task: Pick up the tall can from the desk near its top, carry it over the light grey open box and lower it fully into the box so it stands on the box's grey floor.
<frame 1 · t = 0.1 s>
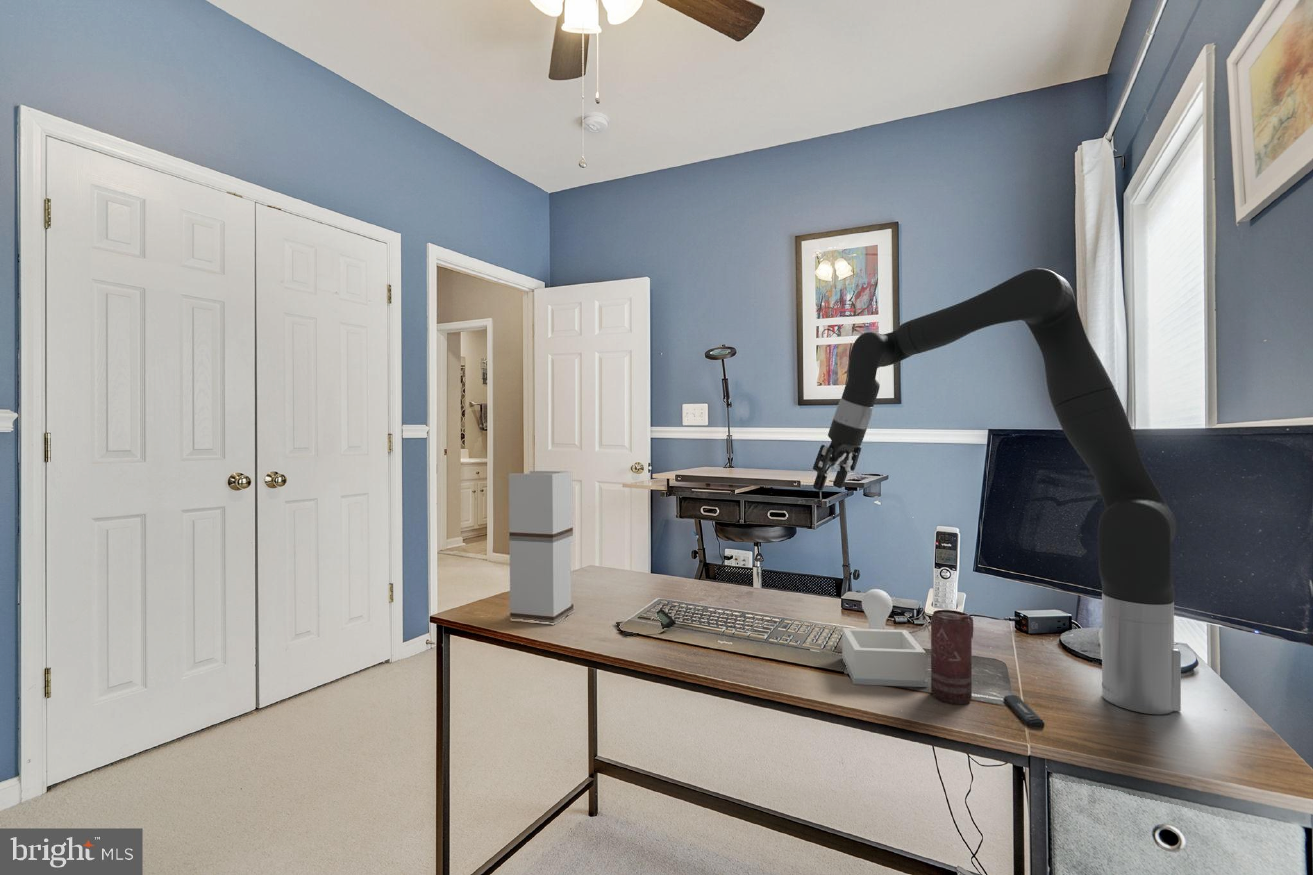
hand: (827, 488, 142), 31 cm above the table, tool tilted 20°, fingers open, 8 cm apart
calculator: (645, 630, 141), on the table
banded grey pillar: (542, 617, 150), on the table
light grey open box: (881, 671, 114), on the table
lightbulb: (877, 642, 131), on the table
usb stick: (1023, 717, 97), on the table
can: (952, 698, 103), on the table
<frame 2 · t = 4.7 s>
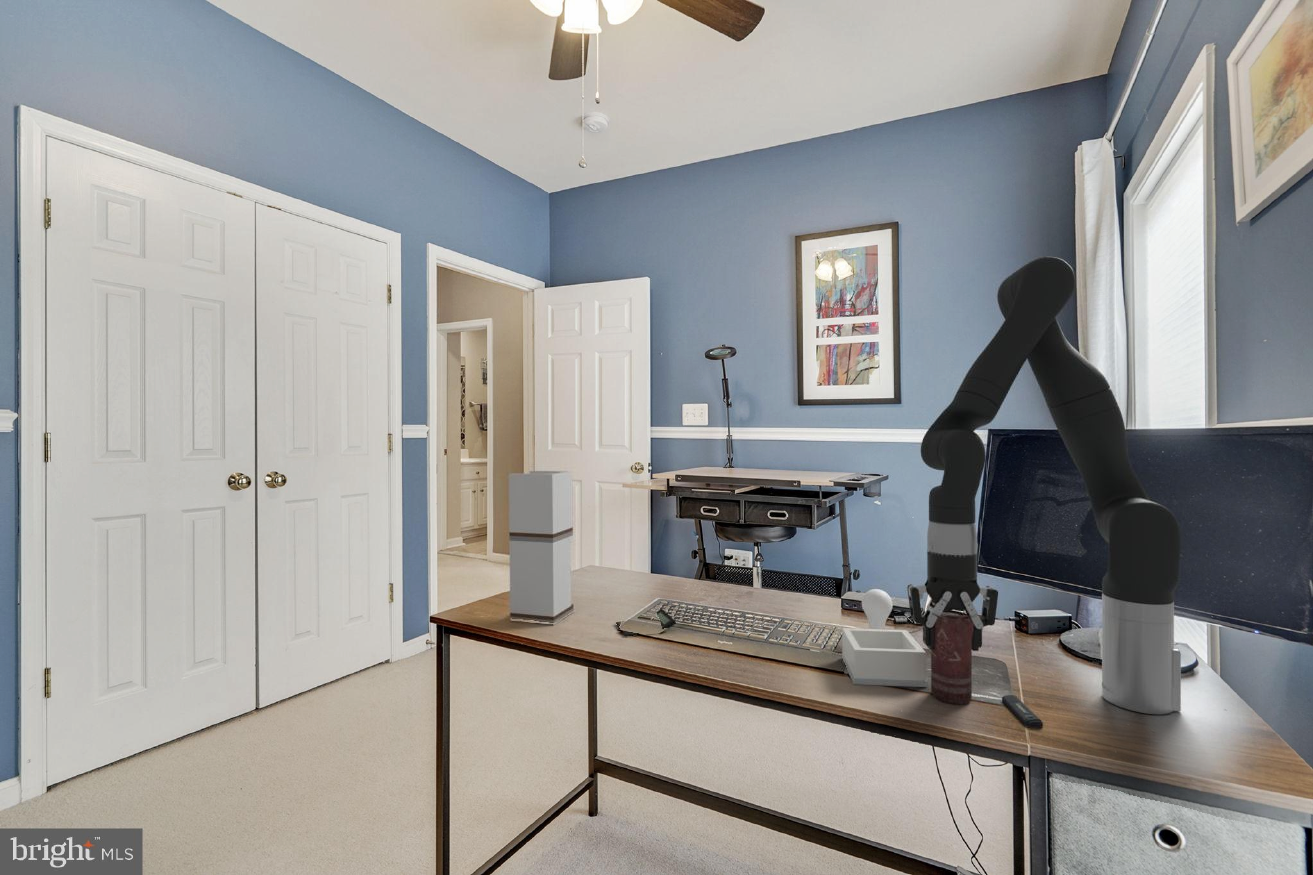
hand: (951, 648, 103), 8 cm above the table, tool pointing down, fingers closed on can, 6 cm apart
can: (952, 698, 103), on the table, touching gripper
everything else where it was.
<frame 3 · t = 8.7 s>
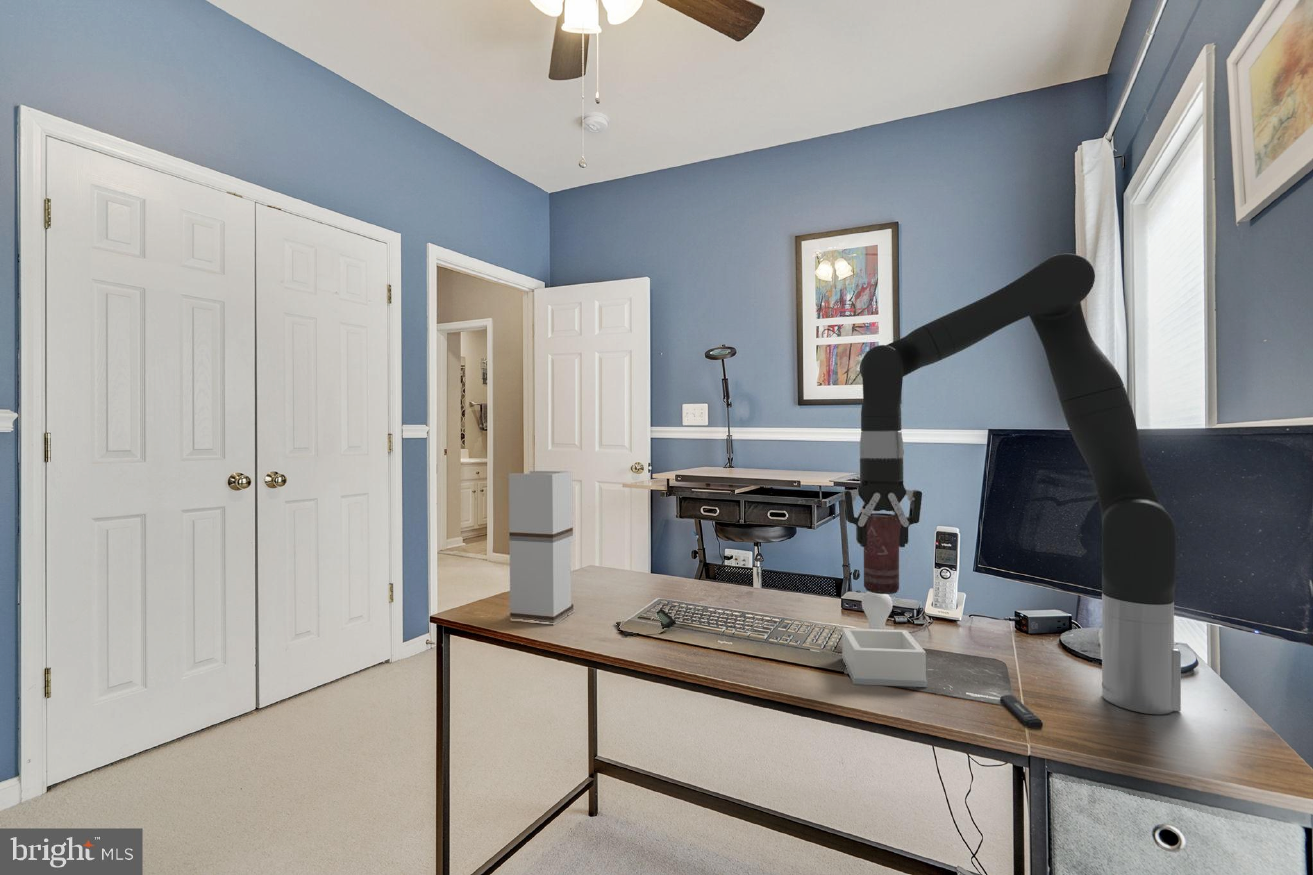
hand: (881, 546, 114), 23 cm above the table, tool pointing down, fingers closed on can, 6 cm apart
can: (882, 591, 114), point 15 cm above the table, touching gripper
everything else where it was.
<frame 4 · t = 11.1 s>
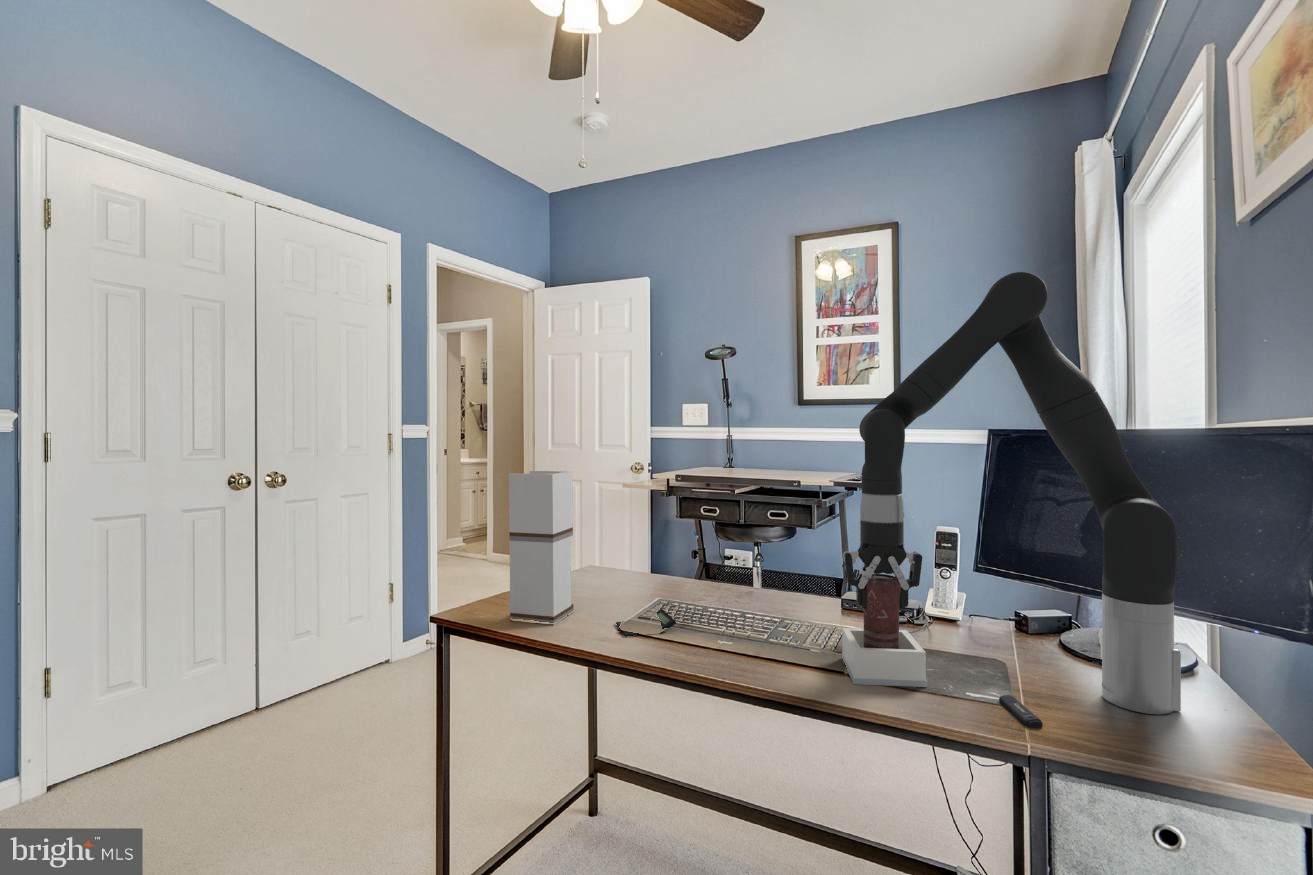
hand: (882, 608, 114), 12 cm above the table, tool pointing down, fingers closed on can, 6 cm apart
can: (882, 653, 114), point 3 cm above the table, touching gripper
everything else where it was.
when the fingers open (11 cm above the table, at t = 12.9 s): can drops 1 cm, resting on light grey open box.
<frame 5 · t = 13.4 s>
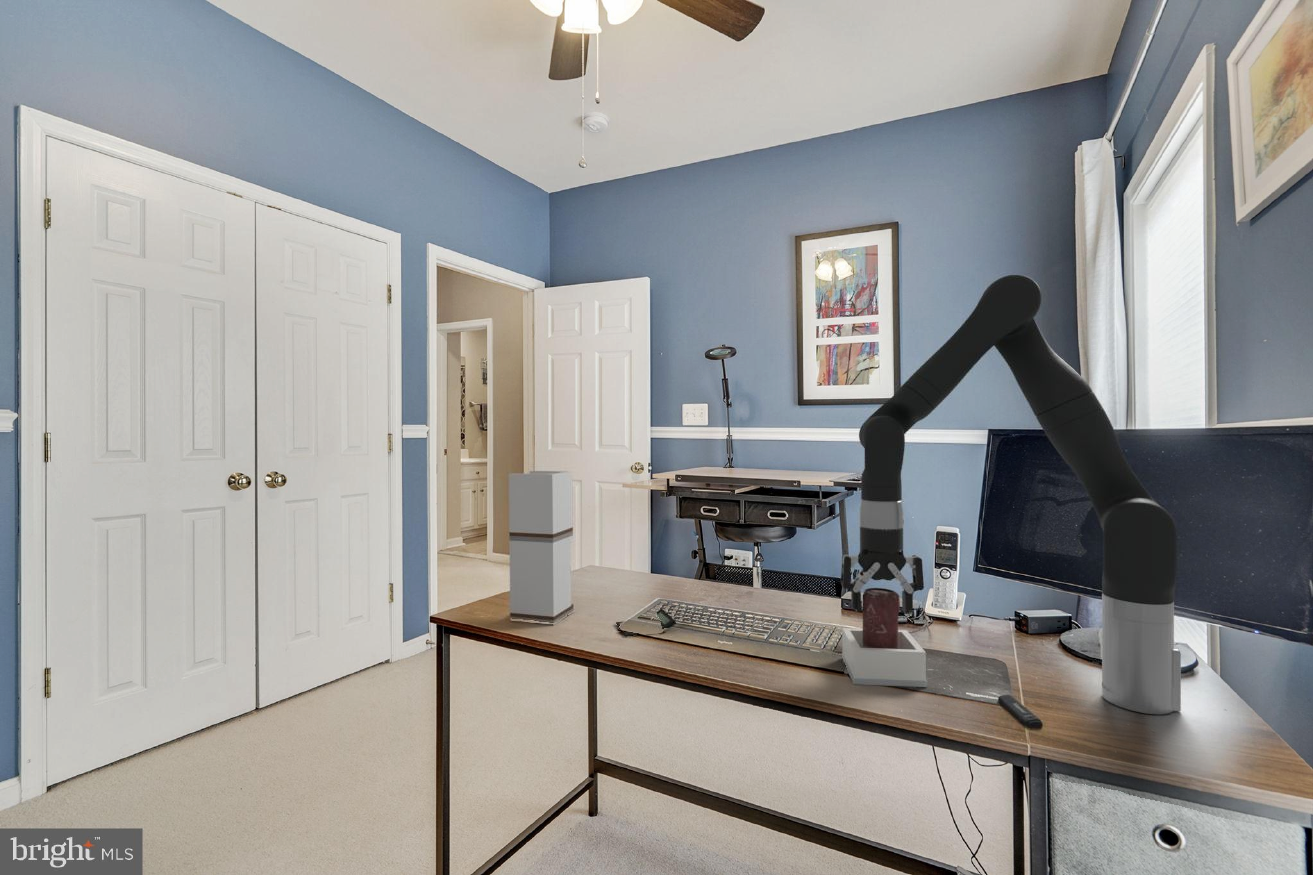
hand: (881, 612, 114), 11 cm above the table, tool pointing down, fingers open, 8 cm apart
can: (880, 667, 114), point 1 cm above the table, touching light grey open box
everything else where it was.
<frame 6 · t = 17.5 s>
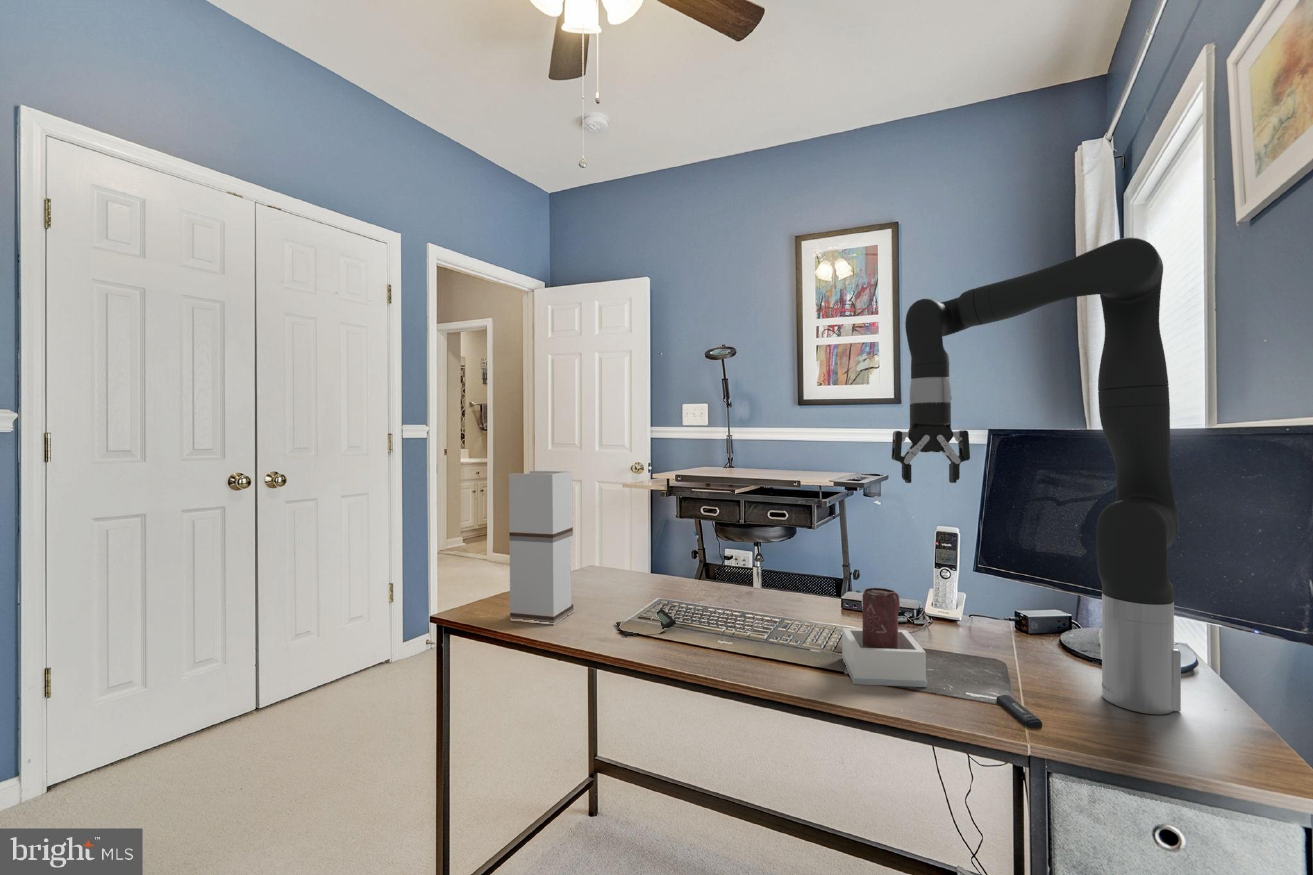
hand: (930, 482, 123), 34 cm above the table, tool pointing down, fingers open, 8 cm apart
nothing on the table moved.
at the end: can 0.2 cm off-centre on the light grey open box, point 0.8 cm above the light grey open box's base; can tilted 0°; the gripper is holding nothing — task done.
